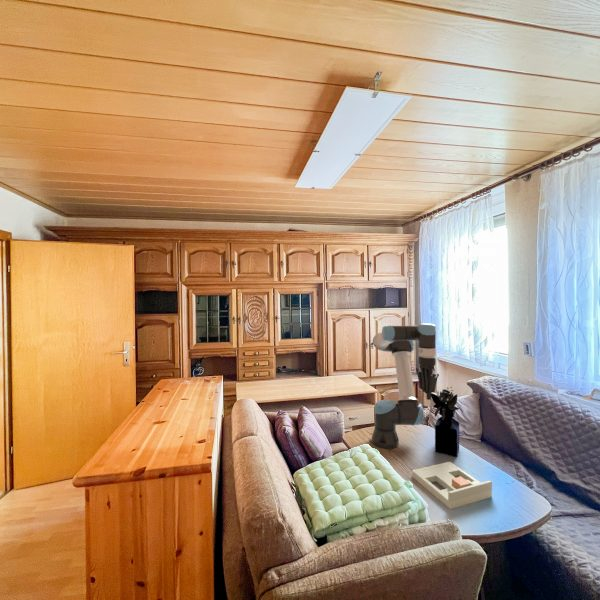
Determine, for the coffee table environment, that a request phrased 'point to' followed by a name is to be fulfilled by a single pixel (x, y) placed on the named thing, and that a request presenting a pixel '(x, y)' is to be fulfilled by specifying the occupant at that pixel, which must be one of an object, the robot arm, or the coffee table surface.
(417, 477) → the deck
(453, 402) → the vase
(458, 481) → the block
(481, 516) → the coffee table surface
